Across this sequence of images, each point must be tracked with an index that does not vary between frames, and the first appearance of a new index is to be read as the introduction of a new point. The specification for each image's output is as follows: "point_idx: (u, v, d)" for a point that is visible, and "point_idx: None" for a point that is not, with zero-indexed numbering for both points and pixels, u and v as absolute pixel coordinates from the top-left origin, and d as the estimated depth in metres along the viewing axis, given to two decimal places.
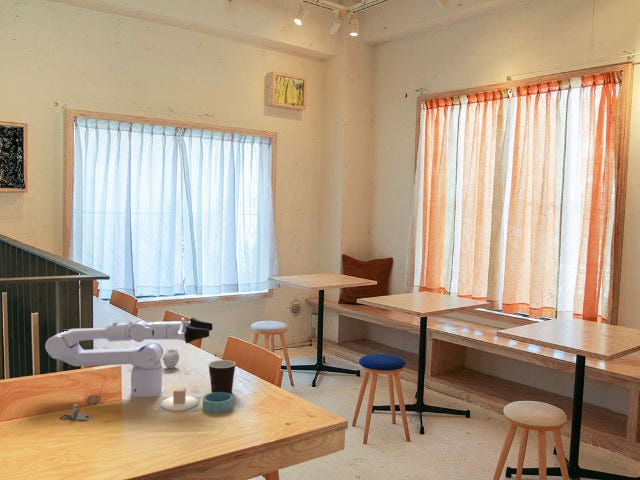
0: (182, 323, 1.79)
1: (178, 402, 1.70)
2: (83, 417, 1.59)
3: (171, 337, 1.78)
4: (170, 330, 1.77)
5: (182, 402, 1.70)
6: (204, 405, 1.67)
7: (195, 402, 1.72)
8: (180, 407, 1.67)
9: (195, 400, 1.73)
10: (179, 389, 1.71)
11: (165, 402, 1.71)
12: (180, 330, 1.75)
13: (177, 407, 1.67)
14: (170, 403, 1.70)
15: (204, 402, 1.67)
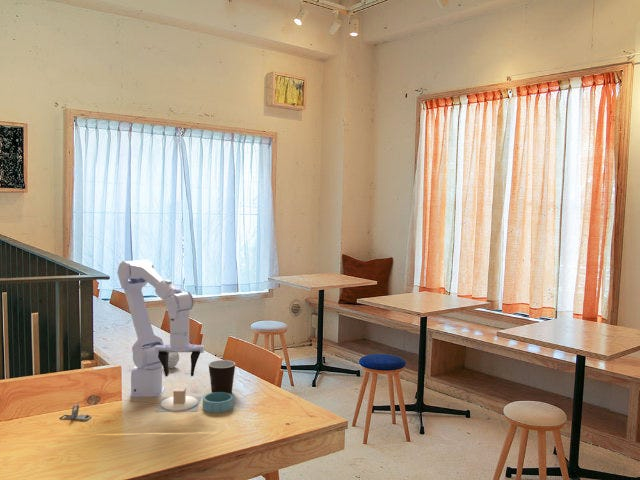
0: (173, 349, 1.67)
1: (178, 402, 1.70)
2: (83, 417, 1.59)
3: None
4: (170, 336, 1.69)
5: (182, 402, 1.70)
6: (204, 405, 1.67)
7: (195, 402, 1.72)
8: (180, 407, 1.67)
9: (195, 400, 1.73)
10: (179, 389, 1.71)
11: (165, 402, 1.71)
12: (161, 348, 1.68)
13: (177, 407, 1.67)
14: (170, 403, 1.70)
15: (204, 402, 1.67)
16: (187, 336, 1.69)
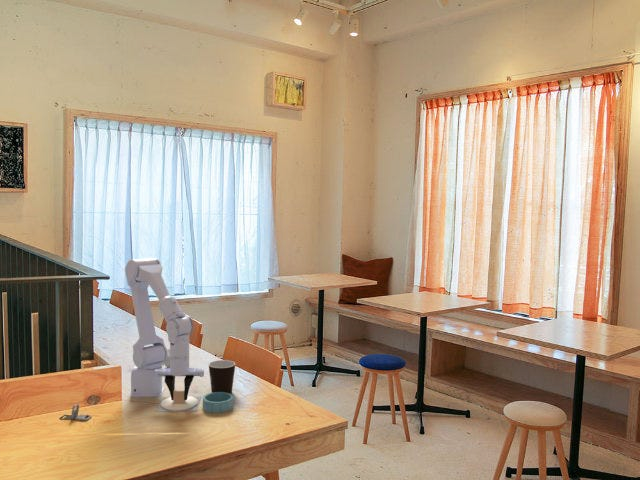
0: (172, 374, 1.68)
1: (178, 402, 1.70)
2: (83, 417, 1.59)
3: None
4: (170, 360, 1.69)
5: (182, 402, 1.70)
6: (204, 405, 1.67)
7: (195, 402, 1.72)
8: (180, 407, 1.67)
9: (195, 400, 1.73)
10: (179, 389, 1.71)
11: (165, 402, 1.71)
12: (161, 372, 1.69)
13: (177, 407, 1.67)
14: (170, 403, 1.70)
15: (204, 402, 1.67)
16: (187, 360, 1.69)
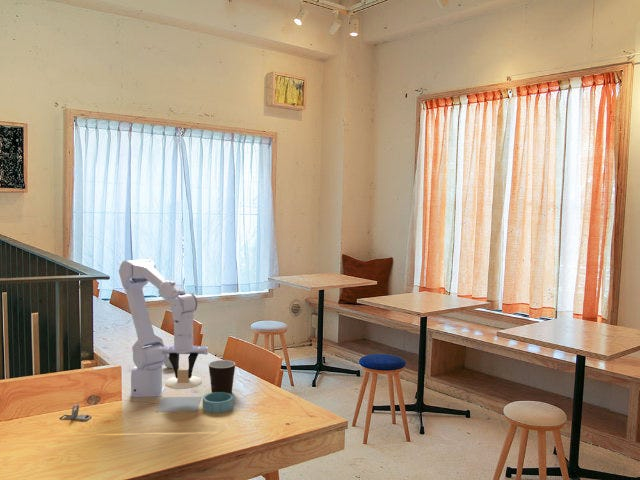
0: (177, 351, 1.67)
1: (182, 381, 1.69)
2: (83, 417, 1.59)
3: None
4: (174, 338, 1.69)
5: (186, 381, 1.69)
6: (204, 405, 1.67)
7: (199, 381, 1.71)
8: (184, 385, 1.66)
9: (199, 379, 1.72)
10: (183, 368, 1.70)
11: (169, 381, 1.70)
12: (165, 350, 1.68)
13: (181, 385, 1.66)
14: (174, 382, 1.69)
15: (204, 402, 1.67)
16: (191, 338, 1.68)
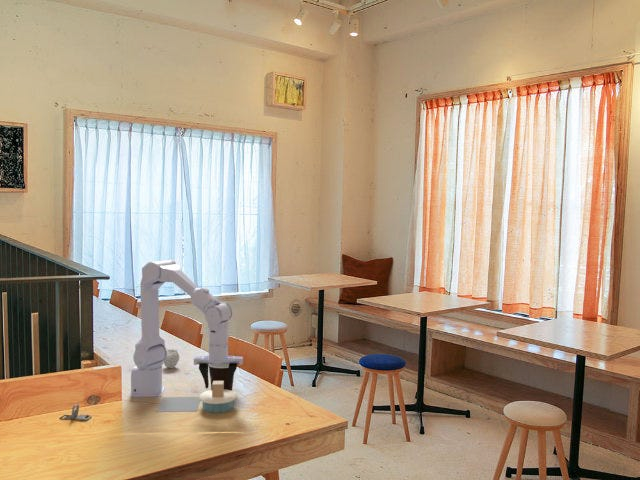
0: (212, 361, 1.66)
1: (217, 395, 1.68)
2: (83, 417, 1.59)
3: None
4: (209, 348, 1.67)
5: (221, 395, 1.68)
6: (204, 405, 1.67)
7: (234, 395, 1.70)
8: (219, 400, 1.65)
9: (233, 393, 1.71)
10: (218, 382, 1.69)
11: (204, 395, 1.69)
12: (200, 360, 1.67)
13: (216, 400, 1.65)
14: (209, 396, 1.68)
15: (204, 402, 1.67)
16: (226, 348, 1.67)
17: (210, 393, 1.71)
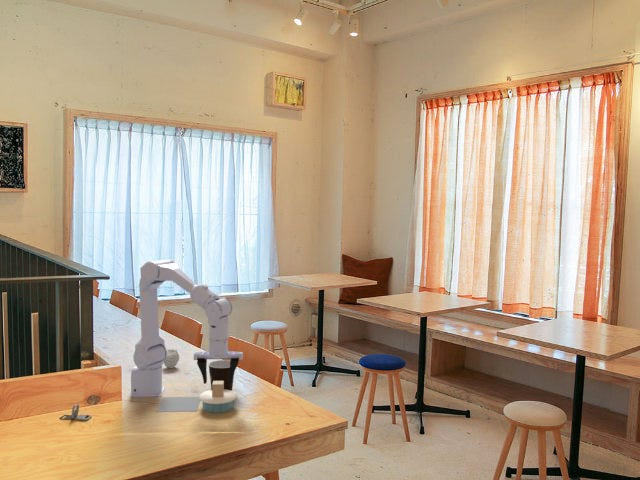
0: (212, 356, 1.65)
1: (217, 395, 1.68)
2: (83, 417, 1.59)
3: None
4: (209, 343, 1.67)
5: (221, 395, 1.68)
6: (204, 405, 1.67)
7: (234, 395, 1.70)
8: (219, 400, 1.65)
9: (233, 393, 1.71)
10: (218, 382, 1.69)
11: (204, 395, 1.69)
12: (200, 355, 1.66)
13: (216, 400, 1.65)
14: (209, 396, 1.68)
15: (204, 402, 1.67)
16: (226, 343, 1.67)
17: (210, 393, 1.71)
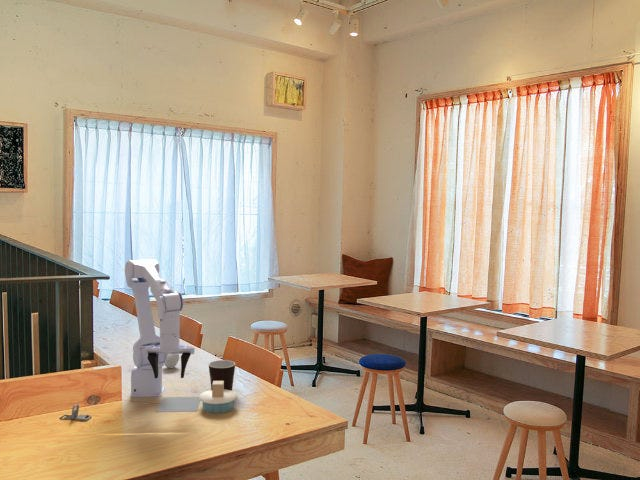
0: (162, 351, 1.64)
1: (217, 395, 1.68)
2: (83, 417, 1.59)
3: None
4: (159, 337, 1.65)
5: (221, 395, 1.68)
6: (204, 405, 1.67)
7: (234, 395, 1.70)
8: (219, 400, 1.65)
9: (233, 393, 1.71)
10: (218, 382, 1.69)
11: (204, 395, 1.69)
12: (151, 349, 1.65)
13: (216, 400, 1.65)
14: (209, 396, 1.68)
15: (204, 402, 1.67)
16: (177, 337, 1.66)
17: (210, 393, 1.71)
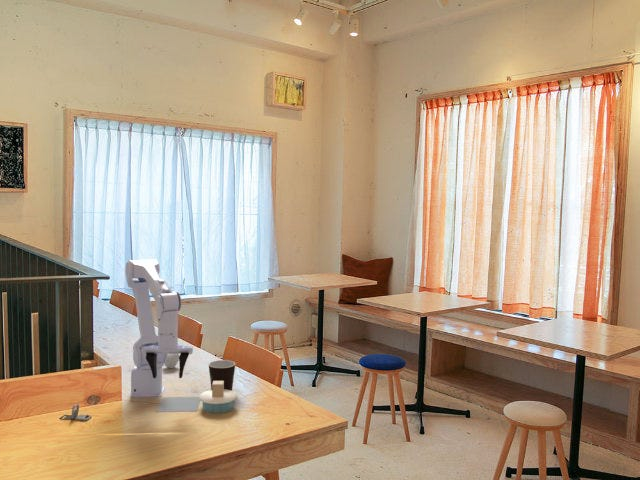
0: (160, 351, 1.64)
1: (217, 395, 1.68)
2: (83, 417, 1.59)
3: None
4: (158, 337, 1.65)
5: (221, 395, 1.68)
6: (204, 405, 1.67)
7: (234, 395, 1.70)
8: (219, 400, 1.65)
9: (233, 393, 1.71)
10: (218, 382, 1.69)
11: (204, 395, 1.69)
12: (149, 349, 1.65)
13: (216, 400, 1.65)
14: (209, 396, 1.68)
15: (204, 402, 1.67)
16: (175, 337, 1.65)
17: (210, 393, 1.71)
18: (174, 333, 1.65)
